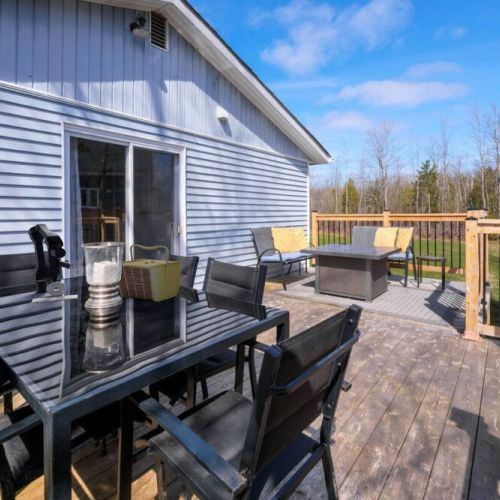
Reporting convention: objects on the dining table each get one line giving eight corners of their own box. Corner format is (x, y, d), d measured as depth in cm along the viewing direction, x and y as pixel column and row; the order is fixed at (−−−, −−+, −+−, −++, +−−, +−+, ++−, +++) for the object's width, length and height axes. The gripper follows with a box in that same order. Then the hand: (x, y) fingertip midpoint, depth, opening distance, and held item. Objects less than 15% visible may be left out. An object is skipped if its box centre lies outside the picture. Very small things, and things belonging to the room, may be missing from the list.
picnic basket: (114, 298, 190) (111, 245, 187) (147, 290, 213) (146, 242, 210) (152, 305, 177) (151, 247, 174) (184, 295, 199) (183, 244, 196)
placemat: (33, 299, 188) (33, 298, 188) (77, 295, 198) (77, 294, 198) (31, 303, 181) (31, 302, 181) (77, 298, 191) (77, 297, 191)
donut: (66, 293, 199) (67, 280, 194) (66, 297, 196) (67, 284, 191) (46, 293, 194) (46, 280, 189) (45, 297, 191) (46, 284, 186)
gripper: (69, 257, 188) (71, 285, 189) (69, 254, 204) (71, 280, 206) (46, 258, 183) (48, 287, 184) (48, 255, 199) (50, 281, 200)
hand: (55, 283), depth 194 cm, fingers closed
